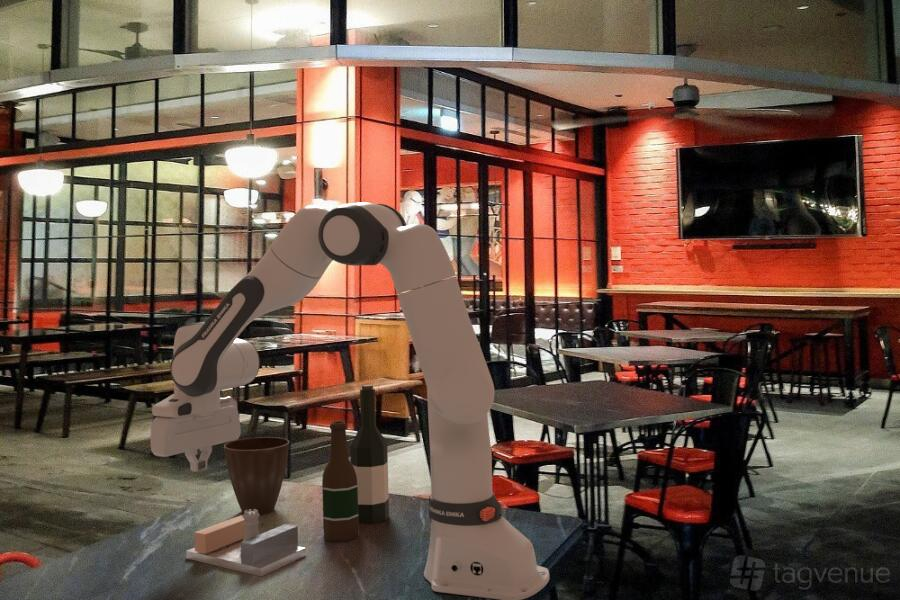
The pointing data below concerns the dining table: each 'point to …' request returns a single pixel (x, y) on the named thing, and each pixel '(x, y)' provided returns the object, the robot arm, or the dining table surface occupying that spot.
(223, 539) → the block
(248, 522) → the rook chess piece
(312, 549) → the dining table surface
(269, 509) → the plant pot
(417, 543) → the dining table surface
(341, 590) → the dining table surface
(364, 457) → the wine bottle
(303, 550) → the vise base
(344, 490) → the beer bottle
